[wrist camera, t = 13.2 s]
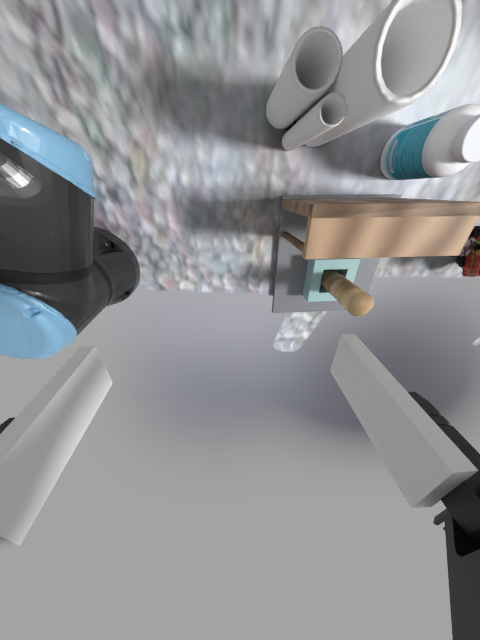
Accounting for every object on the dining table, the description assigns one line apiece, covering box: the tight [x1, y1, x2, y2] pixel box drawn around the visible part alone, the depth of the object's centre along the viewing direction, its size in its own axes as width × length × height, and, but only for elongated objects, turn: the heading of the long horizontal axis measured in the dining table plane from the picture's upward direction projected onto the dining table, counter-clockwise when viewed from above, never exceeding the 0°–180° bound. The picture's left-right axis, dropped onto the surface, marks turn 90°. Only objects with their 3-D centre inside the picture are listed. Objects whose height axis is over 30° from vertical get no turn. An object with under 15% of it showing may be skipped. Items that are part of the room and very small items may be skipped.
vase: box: [266, 0, 462, 151], centre depth 24 cm, size 11×7×20 cm, turn 91°
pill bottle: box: [380, 104, 480, 180], centre depth 30 cm, size 8×7×14 cm
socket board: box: [272, 195, 401, 313], centre depth 43 cm, size 22×24×4 cm
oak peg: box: [321, 269, 374, 316], centre depth 40 cm, size 4×4×14 cm
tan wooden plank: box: [282, 198, 480, 259], centre depth 34 cm, size 22×6×16 cm, turn 90°
